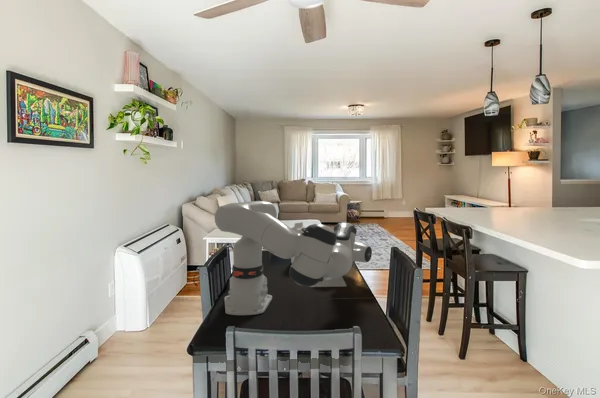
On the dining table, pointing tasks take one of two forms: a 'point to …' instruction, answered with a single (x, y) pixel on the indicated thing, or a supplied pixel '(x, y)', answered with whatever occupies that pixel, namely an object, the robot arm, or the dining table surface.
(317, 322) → the dining table surface
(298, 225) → the milk
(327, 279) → the mat
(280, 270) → the dining table surface
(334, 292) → the dining table surface
